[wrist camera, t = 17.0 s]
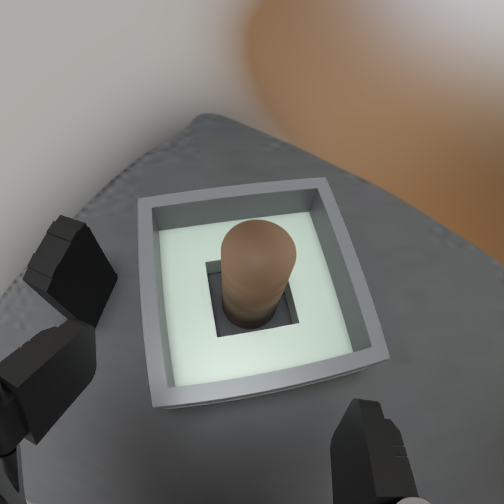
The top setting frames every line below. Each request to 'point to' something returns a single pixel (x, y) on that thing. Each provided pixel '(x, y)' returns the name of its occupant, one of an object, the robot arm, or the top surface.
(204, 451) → the top surface
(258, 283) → the peg
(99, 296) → the ink cartridge
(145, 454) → the top surface
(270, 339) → the socket box
